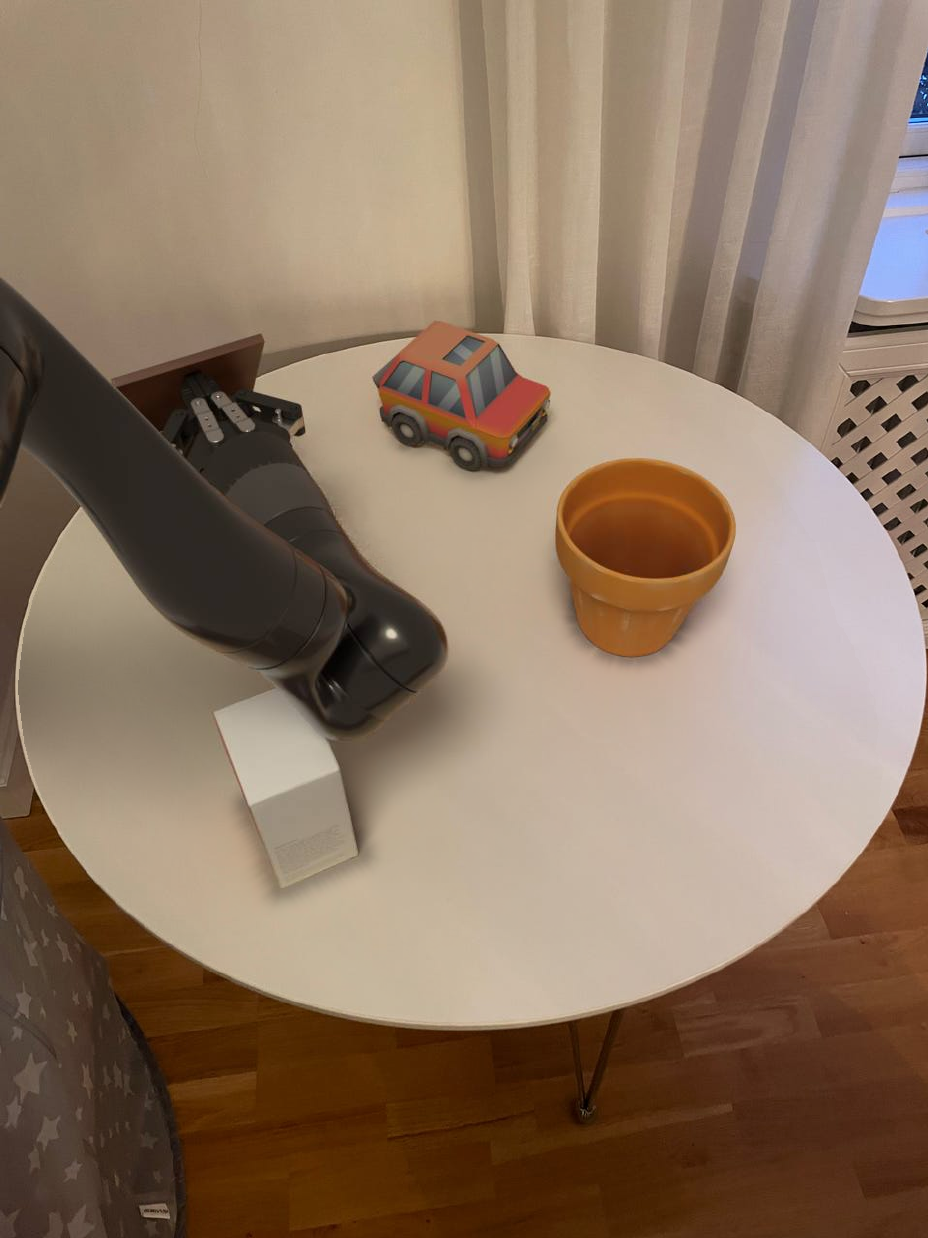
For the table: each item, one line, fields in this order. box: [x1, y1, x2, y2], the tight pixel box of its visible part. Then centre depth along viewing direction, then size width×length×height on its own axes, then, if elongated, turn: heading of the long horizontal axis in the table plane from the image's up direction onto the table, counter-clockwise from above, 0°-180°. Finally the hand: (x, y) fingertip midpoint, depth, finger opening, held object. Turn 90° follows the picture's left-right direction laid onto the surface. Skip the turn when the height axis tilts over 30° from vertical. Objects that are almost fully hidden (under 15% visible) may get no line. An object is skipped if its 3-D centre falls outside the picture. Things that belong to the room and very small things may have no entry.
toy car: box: [371, 320, 552, 471], centre depth 98 cm, size 12×17×10 cm
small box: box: [212, 687, 359, 889], centre depth 66 cm, size 8×6×13 cm
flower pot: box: [554, 457, 737, 658], centre depth 79 cm, size 14×14×13 cm
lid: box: [110, 333, 265, 432], centre depth 82 cm, size 15×13×1 cm
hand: (193, 382), depth 78 cm, fingers closed
